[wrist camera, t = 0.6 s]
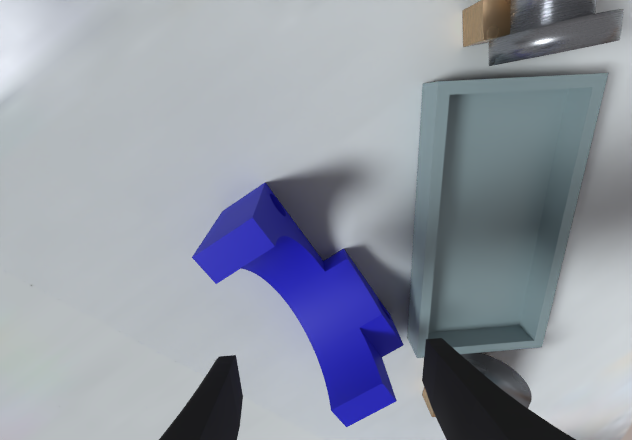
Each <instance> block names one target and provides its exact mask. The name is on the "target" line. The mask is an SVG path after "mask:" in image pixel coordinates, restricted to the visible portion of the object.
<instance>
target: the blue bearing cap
mask: <svg viewBox="0 0 632 440" xmlns="http://www.w3.org/2000/svg"><path fill="white" fill-rule="evenodd" d="M192 258H193V259H194V260H195V261H196V262H197V263H198V265H199V266H200V267H201V268H202V269H203V270H204V271H205V272H206V273H207V274H208V276H209V277H210V278H211V279H212V280H213V281H214V282H215V283H216V284H217V283H218V282H220V281H222V280H223V279H225V278H226V277H228V276H229V275H231V274H233V273H234V272H236V271H237V270H239V269H240V268H241V269H246V270H249V271H251V272H253V273H255V274H257V275H259V276H260V277H262V278H263V279H264V280H266V281H267V282H268V283H269V284H270V285H271V286H272V287H273V288H274V289H275V290H276V291H277V292H278V293H279V294H280V295H281V296H282V298H283V299H284V300H285V301H286V303H287V304H288V305H289V306H290V308H291V309H292V311H293V312H294V314H295V315H296V317H297V318H298V320H299V322H300V323H301V325H302V327H303V329H304V330H305V332H306V334H307V336H308V338H309V340H310V342H311V344H312V346H313V349H314V351H315V353H316V356H317V358H318V361H319V364H320V366H321V369H322V372H323V375H324V379H325V382H326V386H327V390H328V395H329V400H330V406H331V411H332V412H333V413H334V414H335V415H336V416H337V417H338V418H339V420H340V421H341V422H342V423H343V424H344V425H345V426H346V427H348V426H350V425H352V424H354V423H355V422H357V421H359V420H361V419H363V418H365V417H367V416H369V415H371V414H373V413H375V412H377V411H378V410H380V409H382V408H384V407H386V406H388V405H390V404H392V403H394V402H396V398H395V395H394V392H393V389H392V386H391V383H390V380H389V377H388V374H387V371H386V369H385V366H384V363H383V360H382V357H383V356H385V355H387V354H388V353H390V352H392V351H394V350H396V349H397V348H399V347H401V346H403V343H402V340H401V338H400V336H399V334H398V331H397V329H396V327H395V325H394V322H393V320H392V318H391V316H390V314H389V313H388V311H387V310H386V308H385V307H384V306H383V304H382V303H381V301H380V300H379V298H378V297H377V295H376V294H375V293H374V291H373V290H372V288H371V287H370V285H369V284H368V283H367V281H366V280H365V278H364V277H363V275H362V274H361V272H360V271H359V270H358V268H357V267H356V265H355V264H354V262H353V261H352V260H351V258H350V257H349V255H348V254H347V252H346V251H345V249H342V250H341V251H339V252H337V253H336V254H334V255H333V256H331V257H329V258H328V259H326V260H324V261H323V260H322V259H321V257H320V256H319V255H318V253H317V252H316V251H315V249H314V248H313V247H312V245H311V244H310V242H309V241H308V240H307V238H306V237H305V236H304V234H303V233H302V232H301V230H300V229H299V228H298V226H297V225H296V223H295V222H294V221H293V219H292V218H291V217H290V215H289V214H288V213H287V211H286V210H285V208H284V207H283V206H282V204H281V203H280V202H279V200H278V199H277V198H276V196H275V195H274V194H273V192H272V191H271V189H270V188H269V187H268V185H267V184H266V183H264V184H262V185H261V186H259V187H258V188H256V189H255V190H253V191H252V192H250V193H249V194H247V195H246V196H244V197H243V198H241V199H240V200H238V201H237V202H235V203H234V204H232V205H231V206H229V207H228V208H227V209H225V210H224V211H222V213H221V214H220V216H219V217H218V219H217V220H216V222H215V223H214V225H213V226H212V228H211V229H210V231H209V232H208V234H207V235H206V237H205V239H204V240H203V242H202V243H201V245H200V246H199V248H198V249H197V251H196V252H195V254H194V255H193V257H192Z"/></svg>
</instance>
